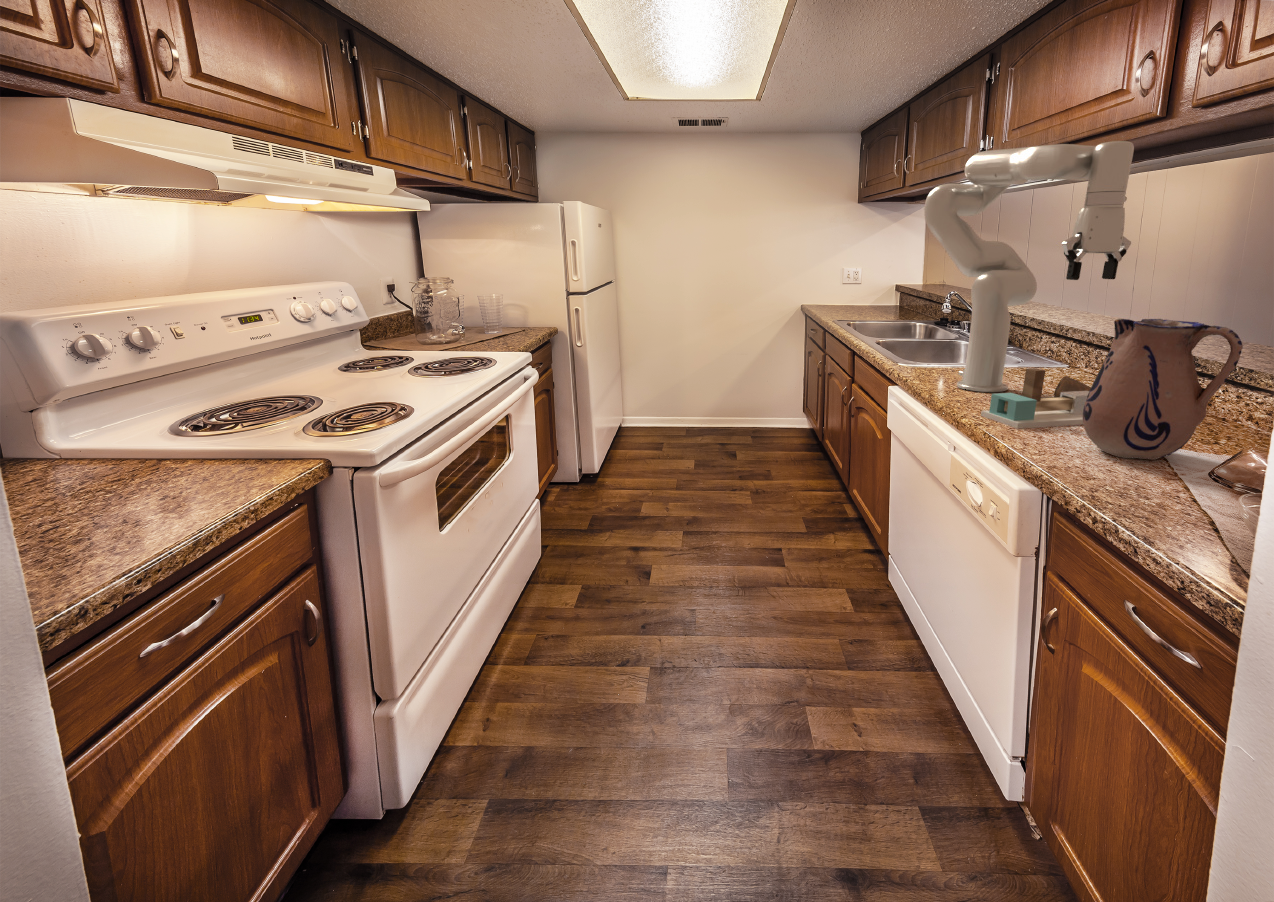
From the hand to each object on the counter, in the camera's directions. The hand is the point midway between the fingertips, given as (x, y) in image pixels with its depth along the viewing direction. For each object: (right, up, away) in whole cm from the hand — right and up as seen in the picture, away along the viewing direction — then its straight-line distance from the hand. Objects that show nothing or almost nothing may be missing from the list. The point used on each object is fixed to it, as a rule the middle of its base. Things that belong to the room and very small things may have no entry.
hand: (1090, 279), depth 161 cm
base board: (-13, -33, -3) cm, 35 cm away
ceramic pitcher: (-10, -41, -30) cm, 52 cm away
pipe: (+9, -28, +14) cm, 32 cm away
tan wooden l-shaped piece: (-14, -31, -4) cm, 34 cm away
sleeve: (-4, -31, -2) cm, 31 cm away
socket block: (-21, -32, -5) cm, 39 cm away
